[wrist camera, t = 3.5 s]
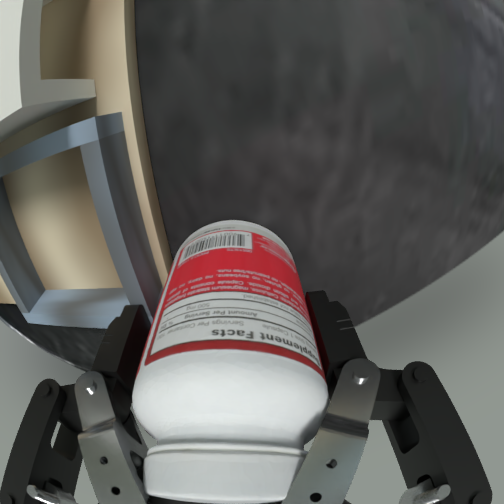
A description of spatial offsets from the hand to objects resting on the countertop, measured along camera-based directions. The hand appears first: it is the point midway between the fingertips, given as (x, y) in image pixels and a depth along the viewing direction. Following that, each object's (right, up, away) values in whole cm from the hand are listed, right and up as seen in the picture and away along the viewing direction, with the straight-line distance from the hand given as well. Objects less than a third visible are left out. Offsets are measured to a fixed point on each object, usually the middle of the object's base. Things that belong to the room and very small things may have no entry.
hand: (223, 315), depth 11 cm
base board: (-12, +8, -1) cm, 14 cm away
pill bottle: (0, +2, +3) cm, 4 cm away
